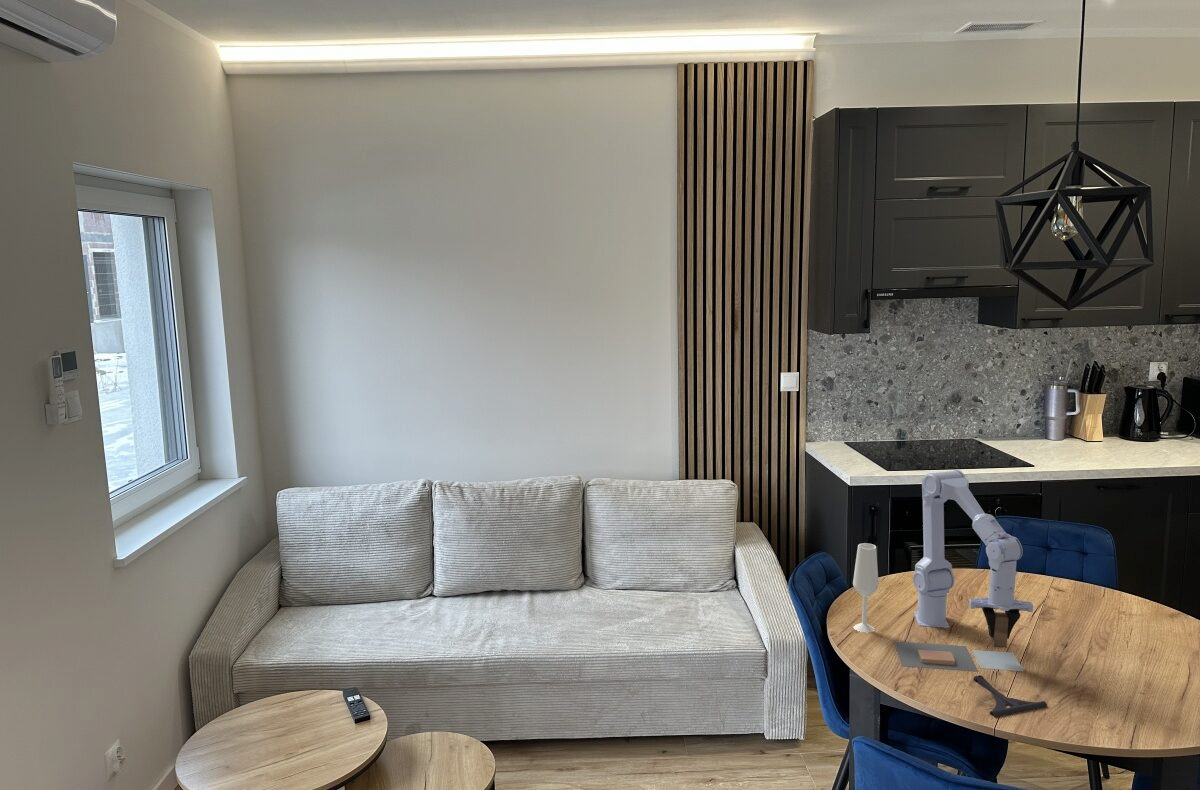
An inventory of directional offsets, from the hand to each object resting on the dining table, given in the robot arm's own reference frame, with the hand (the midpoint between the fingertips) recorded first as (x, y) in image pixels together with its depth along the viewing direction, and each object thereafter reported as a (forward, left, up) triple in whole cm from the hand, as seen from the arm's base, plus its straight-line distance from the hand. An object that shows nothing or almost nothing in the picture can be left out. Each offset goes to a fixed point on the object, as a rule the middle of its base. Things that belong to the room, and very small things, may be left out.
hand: (998, 636), depth 216 cm
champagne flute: (-14, -31, -7) cm, 35 cm away
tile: (0, -15, -6) cm, 16 cm away
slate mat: (0, -15, -7) cm, 17 cm away
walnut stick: (0, 0, -2) cm, 2 cm away
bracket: (+18, -4, -8) cm, 20 cm away
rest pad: (0, 0, -7) cm, 7 cm away
